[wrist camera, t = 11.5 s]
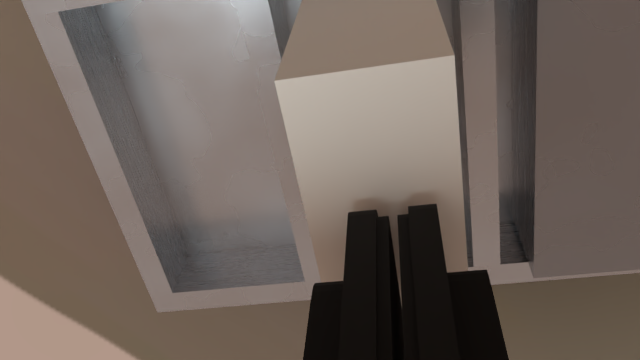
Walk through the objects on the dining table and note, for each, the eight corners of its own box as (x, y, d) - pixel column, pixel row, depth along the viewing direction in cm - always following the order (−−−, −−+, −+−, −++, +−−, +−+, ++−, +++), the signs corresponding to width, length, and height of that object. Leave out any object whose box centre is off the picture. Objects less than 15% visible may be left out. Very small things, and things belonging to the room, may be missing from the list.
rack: (700, -156, 14) (789, -145, 11) (647, 225, 20) (697, 300, 17) (61, -40, 17) (-8, -5, 14) (180, 269, 23) (151, 340, 20)
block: (421, -41, 16) (455, 54, 10) (443, 209, 20) (475, 383, 14) (309, -22, 16) (274, 80, 10) (353, 218, 20) (346, 390, 14)
